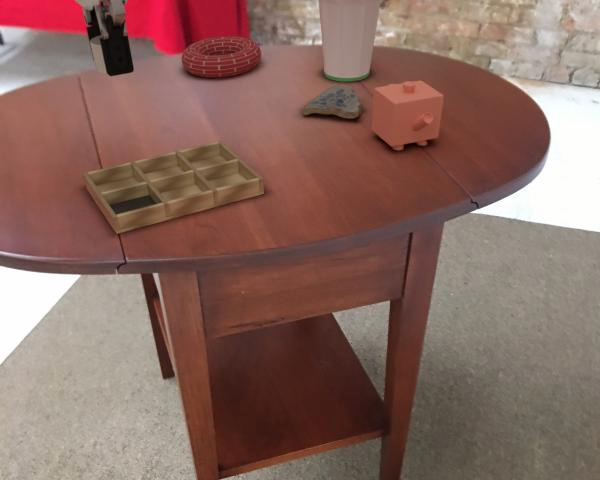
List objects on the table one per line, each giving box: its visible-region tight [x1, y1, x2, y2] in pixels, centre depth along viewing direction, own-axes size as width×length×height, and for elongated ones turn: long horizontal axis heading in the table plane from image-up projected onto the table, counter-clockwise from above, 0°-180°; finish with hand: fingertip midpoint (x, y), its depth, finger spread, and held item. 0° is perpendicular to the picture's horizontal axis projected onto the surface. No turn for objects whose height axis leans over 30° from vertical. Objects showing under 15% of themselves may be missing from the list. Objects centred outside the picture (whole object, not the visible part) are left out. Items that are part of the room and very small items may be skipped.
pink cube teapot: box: [371, 79, 445, 151], centre depth 93 cm, size 8×12×8 cm, turn 21°
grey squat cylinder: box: [89, 35, 108, 75], centre depth 76 cm, size 4×4×3 cm
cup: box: [318, 0, 381, 83], centre depth 112 cm, size 12×12×15 cm
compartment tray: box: [82, 140, 265, 235], centre depth 85 cm, size 20×14×2 cm
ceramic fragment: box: [302, 84, 363, 119], centre depth 104 cm, size 11×3×10 cm
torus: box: [181, 36, 262, 78], centre depth 120 cm, size 16×14×4 cm
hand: (113, 65), depth 77 cm, fingers closed on grey squat cylinder, 4 cm apart
